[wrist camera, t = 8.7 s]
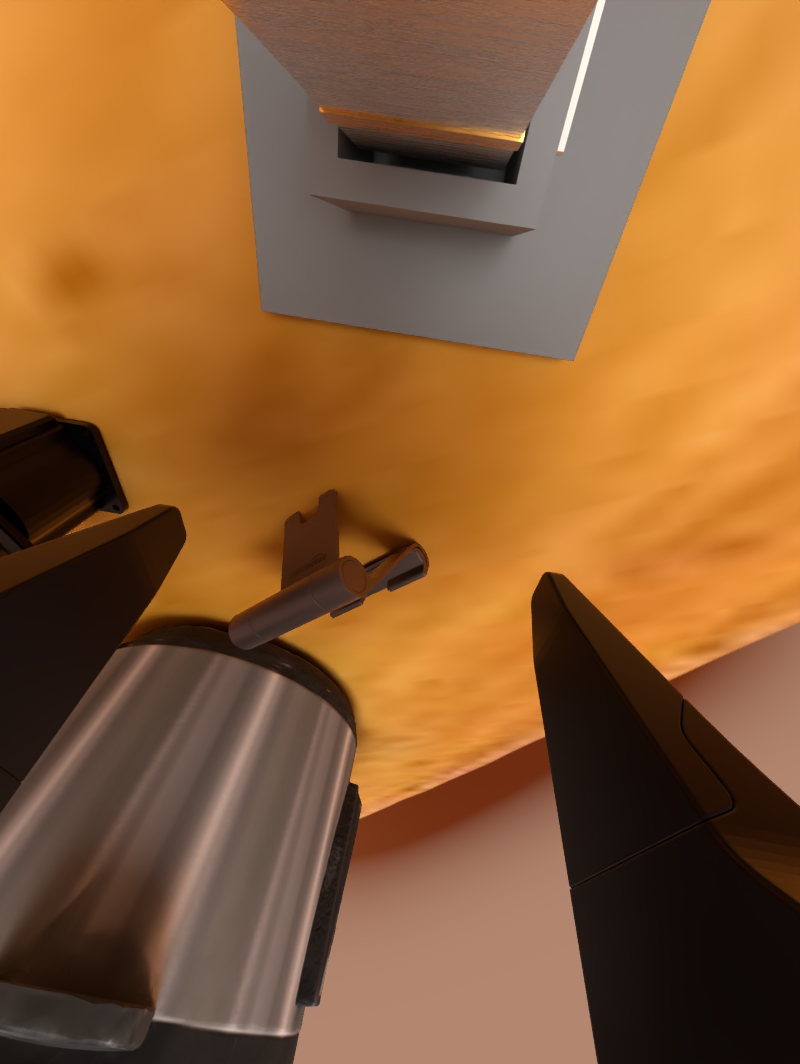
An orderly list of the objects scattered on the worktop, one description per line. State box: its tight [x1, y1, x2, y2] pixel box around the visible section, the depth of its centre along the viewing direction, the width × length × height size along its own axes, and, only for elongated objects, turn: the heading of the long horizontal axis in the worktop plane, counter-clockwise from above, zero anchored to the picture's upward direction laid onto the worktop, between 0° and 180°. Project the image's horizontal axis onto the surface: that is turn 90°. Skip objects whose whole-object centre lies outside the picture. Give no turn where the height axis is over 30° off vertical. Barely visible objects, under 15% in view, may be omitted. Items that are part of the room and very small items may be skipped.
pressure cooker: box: [0, 625, 362, 1064], centre depth 29 cm, size 30×28×32 cm
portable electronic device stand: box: [228, 490, 429, 650], centre depth 23 cm, size 9×8×8 cm
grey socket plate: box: [235, 0, 711, 361], centre depth 11 cm, size 14×14×6 cm
